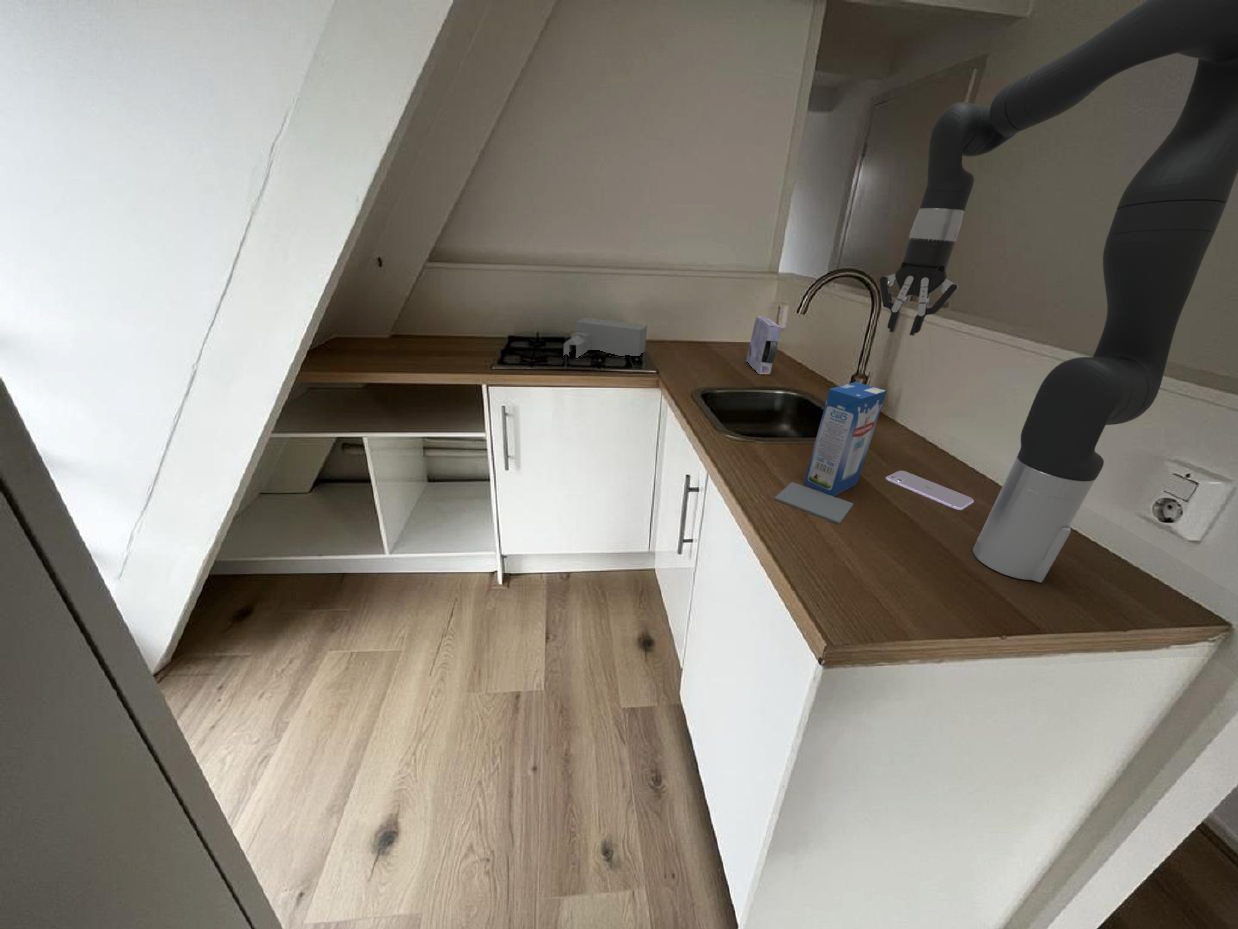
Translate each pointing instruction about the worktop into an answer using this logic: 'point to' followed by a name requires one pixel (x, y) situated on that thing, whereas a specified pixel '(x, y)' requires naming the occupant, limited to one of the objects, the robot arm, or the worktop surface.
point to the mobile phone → (930, 490)
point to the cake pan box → (763, 345)
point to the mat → (814, 502)
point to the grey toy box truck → (607, 337)
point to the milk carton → (844, 437)
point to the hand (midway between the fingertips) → (901, 332)
